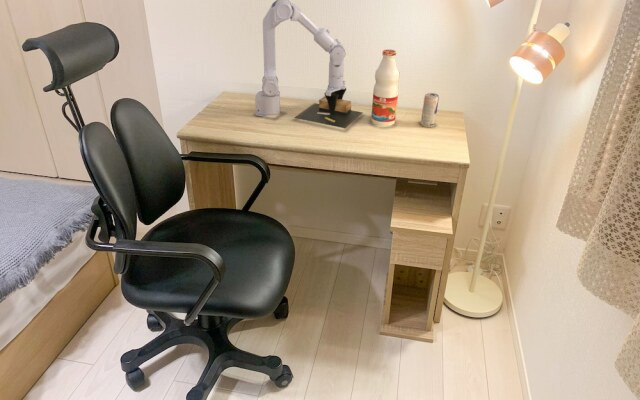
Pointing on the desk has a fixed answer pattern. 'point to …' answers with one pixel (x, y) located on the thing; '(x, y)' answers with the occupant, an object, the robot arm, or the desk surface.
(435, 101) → the energy drink
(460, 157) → the desk surface
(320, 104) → the eraser
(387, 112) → the strawberry milk bottle
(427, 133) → the desk surface
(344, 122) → the slate board
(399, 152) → the desk surface
